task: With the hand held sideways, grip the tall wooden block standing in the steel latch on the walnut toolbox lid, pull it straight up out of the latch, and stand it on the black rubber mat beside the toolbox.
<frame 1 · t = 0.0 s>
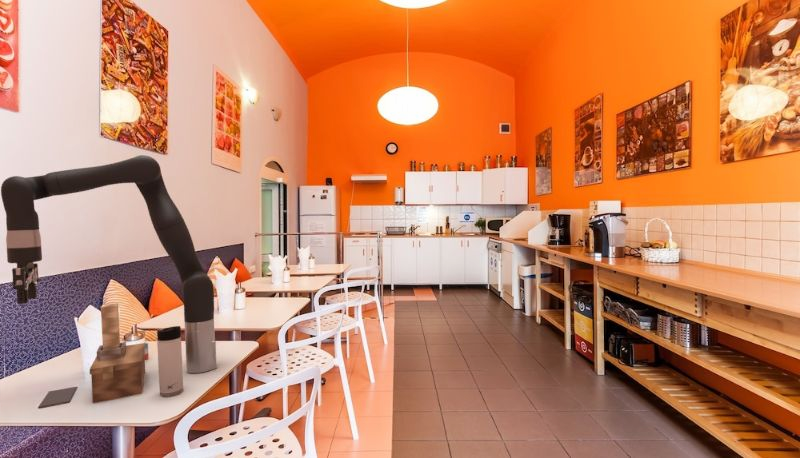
hand: (27, 300, 122), 29 cm above the table, tool pointing down, fingers open, 8 cm apart
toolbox: (121, 386, 131), on the table
yogurt: (137, 365, 150), on the table
wooden block: (112, 356, 130), point 10 cm above the table, touching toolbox
rubber mat: (58, 397, 124), on the table
travel mug: (172, 393, 126), on the table
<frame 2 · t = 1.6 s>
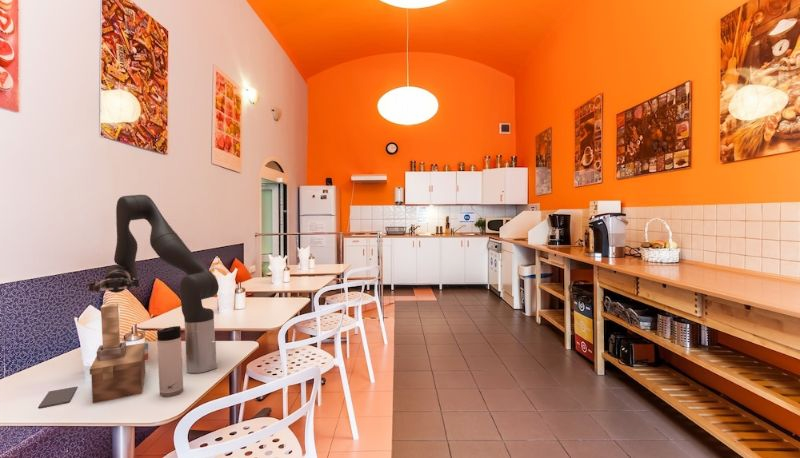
hand: (112, 287, 139), 30 cm above the table, tool horizontal, fingers open, 8 cm apart
nothing on the table moved.
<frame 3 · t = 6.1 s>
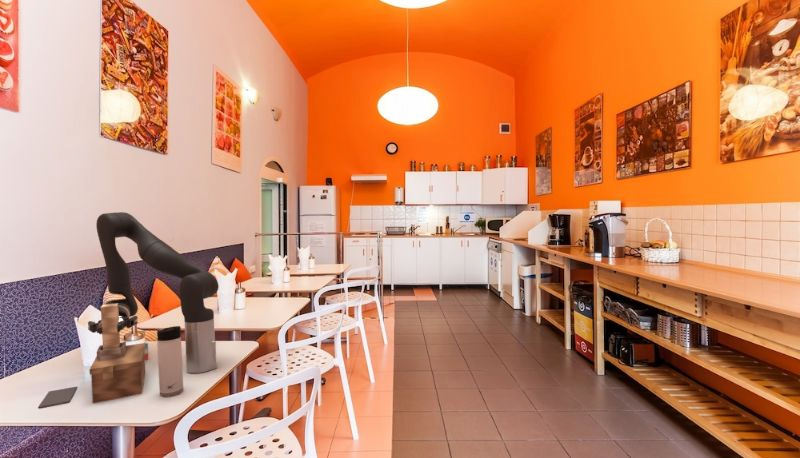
hand: (109, 329, 127), 19 cm above the table, tool horizontal, fingers closed on wooden block, 4 cm apart
wooden block: (112, 356, 130), point 10 cm above the table, touching gripper, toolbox
everything else where it was.
when the fingers open (11 cm above the table, at t = 12.8 s): wooden block drops 1 cm, resting on rubber mat.
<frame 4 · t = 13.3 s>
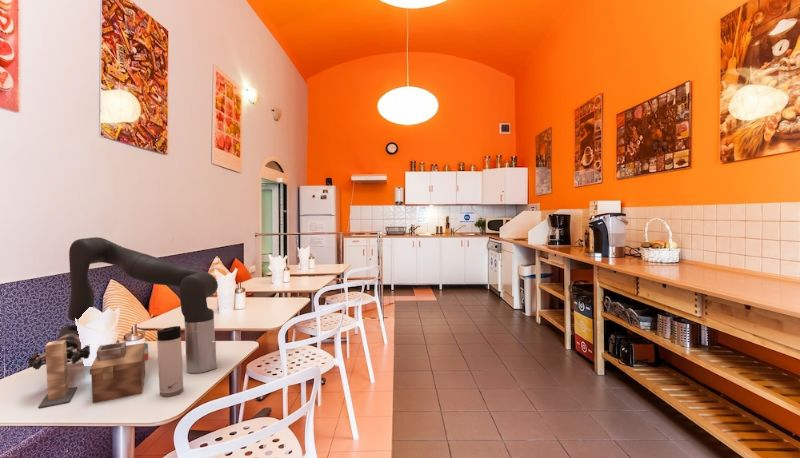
hand: (55, 363, 122), 11 cm above the table, tool horizontal, fingers open, 8 cm apart
wooden block: (58, 396, 124), resting on rubber mat
everything else where it was.
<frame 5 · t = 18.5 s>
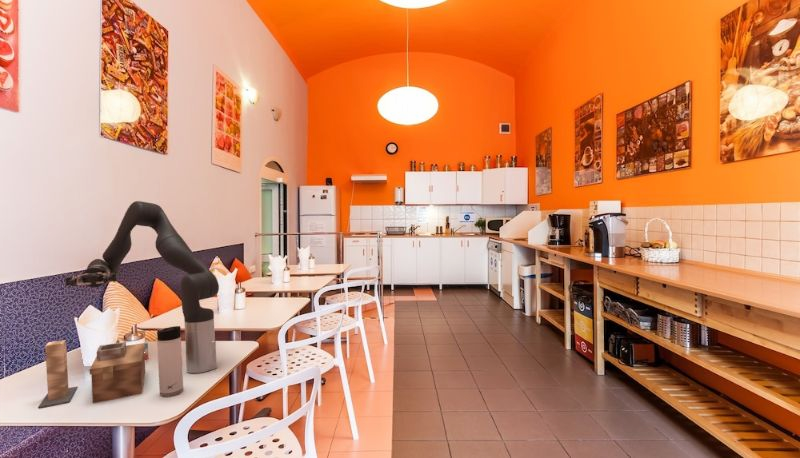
hand: (89, 281, 139), 32 cm above the table, tool horizontal, fingers open, 8 cm apart
nothing on the table moved.
at the end: wooden block inside the target area (0.0 cm from its centre), point 0.5 cm above the table; wooden block tilted 0°; the gripper is holding nothing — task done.
